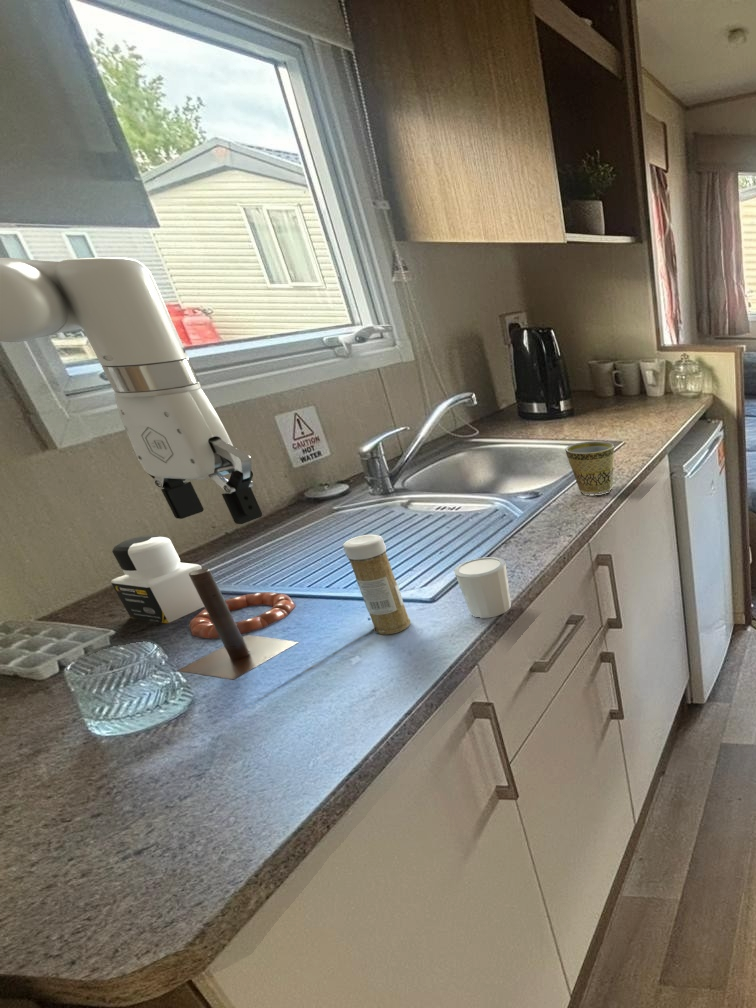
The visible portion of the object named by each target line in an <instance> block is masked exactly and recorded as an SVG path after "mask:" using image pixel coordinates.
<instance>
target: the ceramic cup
mask: <svg viewBox="0 0 756 1008" xmlns="http://www.w3.org/2000/svg"><path fill="white" fill-rule="evenodd" d="M564 450H565V454H566V458H567V460H568V463H569V466H570V468H571V471H572V472H573V476H574V479H575V482H576V483H577V487H578V490H579V492H580V493H581V492H582V493H584V494H589V495H590V494H594V495H595V494H602V493H606V492H609V491H610V490H611V489H612V490H613V489H614V488H613V487H614V486H613V485H614V484H613V483H614V462H615V446H614V444H613V443H611V442H609V441H602V440H601V441H600V440H592V441H583V442H582V441H581V442H577V443H573V444H570V445H568V446H567V447H565V449H564ZM612 490H611V491H612Z"/></svg>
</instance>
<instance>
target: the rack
mask: <svg viewBox="0 0 756 1008" xmlns="http://www.w3.org/2000/svg"><path fill="white" fill-rule="evenodd" d="M201 568H202V569H197V570H194V571H192V572H190V573H189V576H190V578H191V580H192V582H193V584H194V586H195V588H196V590H197V592H198V594H199V596H200V598H201V600H202V602H203V604H204V606H205V607H204V609H206V610H207V612H208V614H209V616H210V618H211V620H212V622H213V624H214V626H215V628H216V630H217V632H218V635H219V637H220V638H219V639H220V641H221V643H222V645H223V646H221V647H219V648H218V649H216V650H214V651H211V652H210V653H208V654H206V655H204V656H202V657H200V658H198V659H197V660H195V661H193V662H191V663H189V664H187V665H185V666H183V667H180V668H178V669H177V670H176V671H177V672H181V673H188V674H192V675H193V674H194V675H200V676H205V677H206V676H207V677H212V678H219V679H224V680H230V681H231V680H232V681H235V680H237V679H238V678H240V677H242V676H243V675H245V674H247V673H249V672H250V671H252V670H254V669H256V668H258V667H260V666H261V665H263V664H264V663H266V662H268V661H269V660H272V659H274V658H275V657H277V656H278V655H280V654H282V653H283V652H285V651H287V650H290V648H293V647H294V646H296V645H297V644H299V643H300V641H294V640H288V639H282V638H274V637H267V636H260V635H252V634H241V633H240V631H239V629H238V627H237V625H236V621H235V619H234V617H233V614H232V611H230V610H229V608H228V606H227V604H226V602H225V600H226V599H225V598H224V596H223V594H222V591H221V589H220V587H219V585H218V582H217V581H216V579H215V576H214V574H213V573H212V571H211V569H210V568H208V567H201Z"/></svg>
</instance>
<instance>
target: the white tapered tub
mask: <svg viewBox="0 0 756 1008" xmlns="http://www.w3.org/2000/svg"><path fill="white" fill-rule="evenodd" d="M453 573H454V575H455V578H456V581H457V583H458V586H459V588H460V591H461V593H462V596H463V598H464V600H465V602H466V605H467V608H468V611H469V613H470V616H472V615H473V616H472V617H474V616H475V617H474V618H476V617H480V618H479V619H488V618H489V619H490V618H494V617H498V616H500V615H503V614H505V613H506V612H508V611H509V610H510V609H511V607H512V600H511V593H510V586H509V577H508V571H507V564H506V561H505V559H503V558H500V557H493V556H487V557H478V558H474V559H470V560H467V561H464V562H462V563H460V564H458V565H457V566H456V567H455V568H454V569H453Z"/></svg>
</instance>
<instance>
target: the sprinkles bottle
mask: <svg viewBox="0 0 756 1008" xmlns="http://www.w3.org/2000/svg"><path fill="white" fill-rule="evenodd" d="M342 547H343V551H344V553H345V556H346V558H347V559H348V561H349V562H350V565H351V568H352V570H353V573H354V577H355V580H356V584H357V587H358V588H359V591H360V594H361V596H362V599H363V602H364V605H365V608H366V610H367V612H368V614H369V616H370V619H371V623H372V625H373V631H374V632H375V633H376V634H378V635H382V636H383V635H384V636H385V635H386V636H387V635H393V634H397V633H401V632H402V631H404V630H406V629H408V627H409V626H410V625H411V619H410V618H409V616H408V612H407V610H406V607H405V604H404V599H403V597H402V593H401V591H400V588H399V585H398V583H397V581H396V577H395V575H394V572H393V570H392V566H391V563H390V561H389V558H388V555H387V547H386V544H385V541H384V538H383V536H381V535H379V534H363V535H358V536H355V537H351V538H350V539H347V540H346V541H345V542H344V543H343V544H342Z"/></svg>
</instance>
